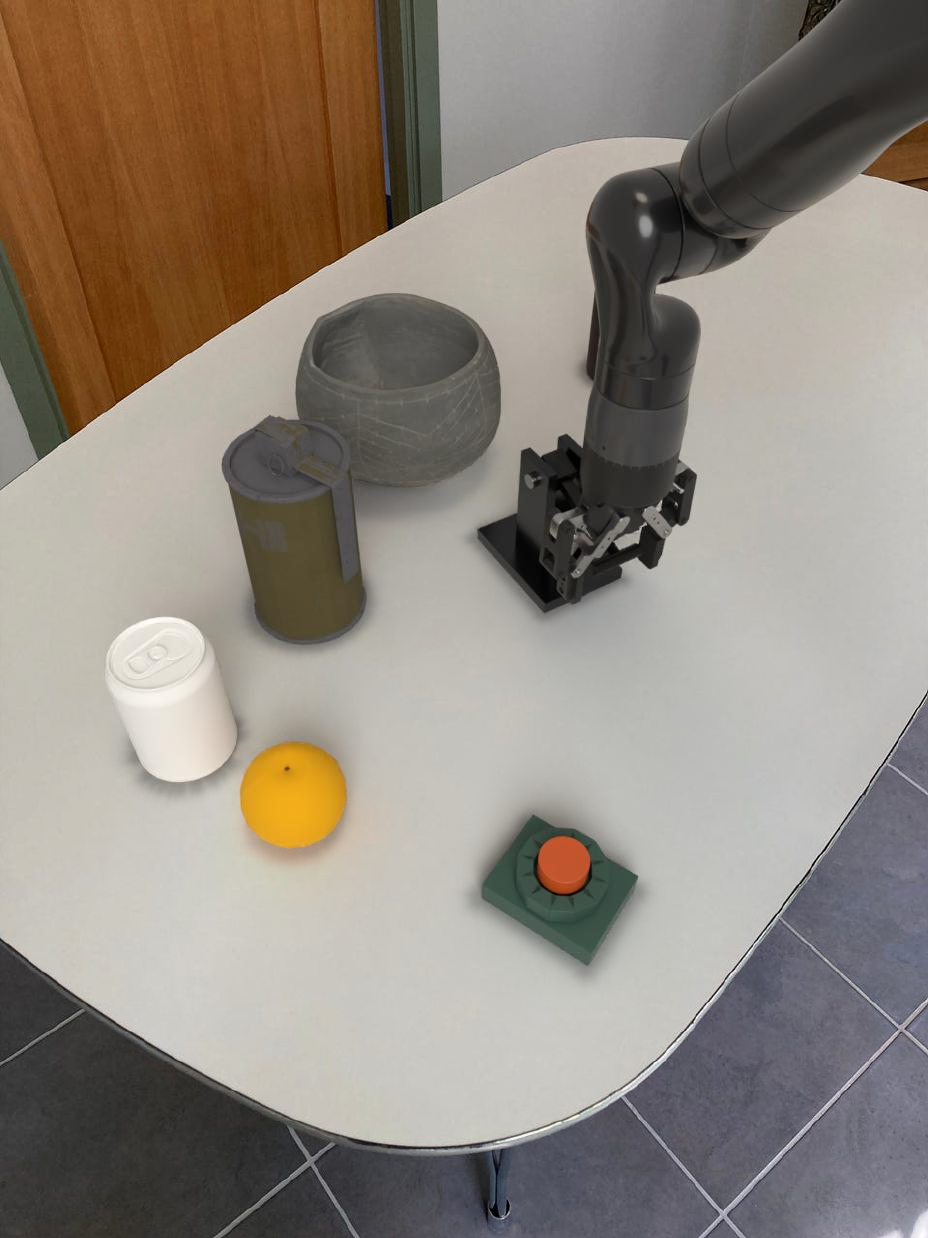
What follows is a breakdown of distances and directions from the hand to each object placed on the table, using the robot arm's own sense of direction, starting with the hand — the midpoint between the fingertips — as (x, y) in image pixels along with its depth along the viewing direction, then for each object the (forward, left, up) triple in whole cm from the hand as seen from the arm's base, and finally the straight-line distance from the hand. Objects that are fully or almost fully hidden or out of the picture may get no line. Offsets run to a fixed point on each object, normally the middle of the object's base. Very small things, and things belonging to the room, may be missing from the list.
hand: (609, 579), depth 86 cm
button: (-11, +26, -1) cm, 28 cm away
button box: (-11, +26, -5) cm, 29 cm away
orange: (+9, +32, -5) cm, 34 cm away
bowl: (+29, -8, -5) cm, 31 cm away
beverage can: (+21, +32, -5) cm, 39 cm away
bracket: (+8, -4, -5) cm, 10 cm away
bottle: (+18, -36, -5) cm, 40 cm away
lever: (+5, -2, +3) cm, 6 cm away
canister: (+23, +14, -5) cm, 28 cm away
